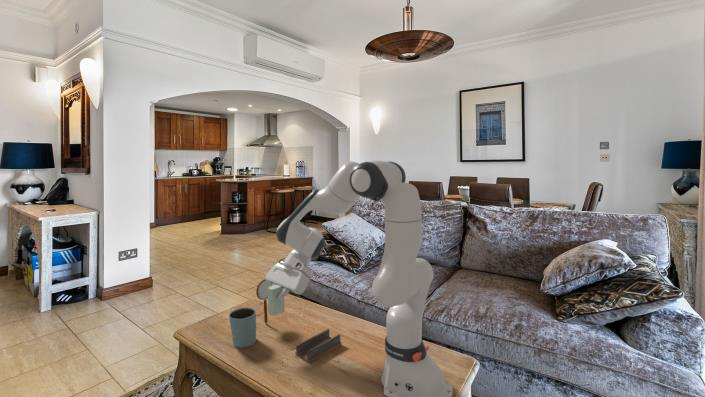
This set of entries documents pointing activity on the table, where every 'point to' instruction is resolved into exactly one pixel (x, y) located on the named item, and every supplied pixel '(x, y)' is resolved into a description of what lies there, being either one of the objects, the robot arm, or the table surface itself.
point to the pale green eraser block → (275, 300)
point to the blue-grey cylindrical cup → (243, 327)
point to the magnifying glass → (263, 295)
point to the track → (317, 346)
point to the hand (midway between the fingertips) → (274, 297)
